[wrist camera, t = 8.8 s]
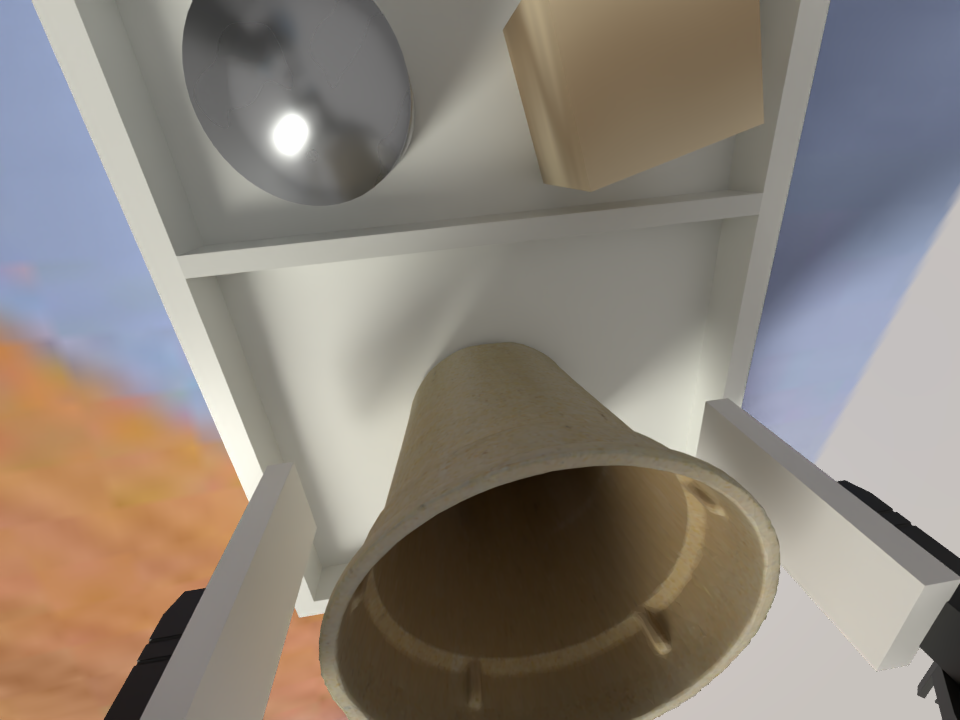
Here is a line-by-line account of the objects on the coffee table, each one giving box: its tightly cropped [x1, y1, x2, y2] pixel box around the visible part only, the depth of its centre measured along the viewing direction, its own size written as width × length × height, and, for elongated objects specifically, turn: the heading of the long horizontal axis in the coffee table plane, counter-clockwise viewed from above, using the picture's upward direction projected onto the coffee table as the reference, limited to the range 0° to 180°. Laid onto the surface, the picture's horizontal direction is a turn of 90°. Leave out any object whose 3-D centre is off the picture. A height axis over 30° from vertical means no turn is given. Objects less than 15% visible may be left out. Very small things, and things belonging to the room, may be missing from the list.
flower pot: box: [319, 342, 780, 720], centre depth 12 cm, size 9×9×9 cm
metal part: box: [182, 0, 415, 206], centre depth 10 cm, size 4×4×4 cm
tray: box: [32, 0, 830, 618], centre depth 14 cm, size 22×18×2 cm
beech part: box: [503, 0, 764, 192], centre depth 10 cm, size 4×4×4 cm
